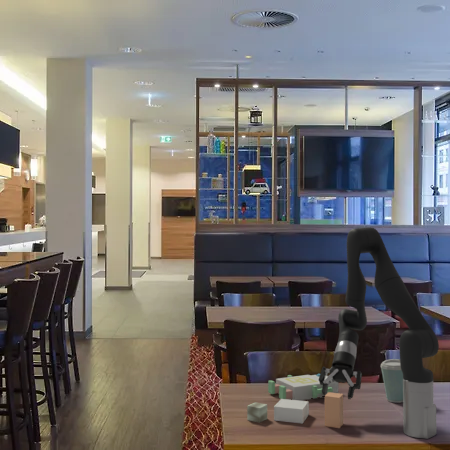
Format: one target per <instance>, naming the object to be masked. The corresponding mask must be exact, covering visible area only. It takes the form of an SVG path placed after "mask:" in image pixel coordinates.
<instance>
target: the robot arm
mask: <svg viewBox="0 0 450 450" xmlns="http://www.w3.org/2000/svg"><path fill="white" fill-rule="evenodd" d="M361 254H370V255H371V258H372V259H373V261H374V264H375V273H374V287H375V289H376V292H377V294H378V296H379V297H380V300H381V302H383V304H384V306H386V307H387V308H388V309H389V310H390V311H392V312H393V313H394V314H395V315H396V316H397V317H399V319H401V320H402V321H403V322H404V323H405V324H406V326H407V328H408V329H407V330H404V331H403V332H402V333H401V335H400V338H399V344H398V347H399V349H398V350H399V359H400V366H401V370H402V373H403V402H402V409H403V411H402V412H403V413H402V415H403V416H402V419H403V421H402V423H403V425H402V426H403V433H404V434H405V435H407V436H408V437H412V438H418V439H426V440H428V439H430V438H432V437H434V436H436V435H437V404H436V403H434V373H433V370H430V369H429V368H426V367H424V363H423V358H424V359H425V358H431V357H434V356H436V355H437V354H438V352H439V349H440V345H439V340H438V337H437V335H436V333H435V332H434V330H433V328H432V327H431V325H430V324H429V322H428V321H427V320H426V319H425V317H424V315H423V314H422V313H421V311H420V309H419V307H418V306H417V304H416V303H415V301H414V299H413V298H412V296H411V294H410V292H409V291H408V287H407V286H406V285H405V283H404V280H403V278H402V277H401V275H400V274H399V272H398V271H397V268H396V266H395V265H394V263H393V260H392V259H391V257H390V255H389V253H388V249H387V248H386V246H385V242H384V240H383V238H382V236H381V234H380V232H379V231H378V230H377V229H376V228H374V227H371V226H370V227H357V228H352V229H350V230H349V231H348V233H347V236H346V264H347V267H346V268H347V283H346V284H347V285H346V292H345V300H344V301H345V304H346V305H347V306H349V307H351V308H354V309H355V310H354V309H353V310H352V309H348V308H344V309H342V310H340V311H339V313H338V318H337V319H338V326H339V334H338V340H337V343H336V344H337V345H336V347H335V350H334V353H333V359H332V363H331V367H330V368H326V367H325V366H322V368H321V370H320V372H319V374H320V377H319V382H320V384H321V385H323V387H322V394H323V395H324V396H325V395H326V394H327V390H328V386H329V385H330V384H332V383H334V382H335V381H336V382H338V383H342V384H345V383H347V385H348V392H347V399H348V400H351V399H353V398H354V392H355V390H361V386H362V385H361V384H362V378H363V377H362V376H363V374H362V372H361V369H360V370H357V371H354V369H355V368H354V367H355V363H356V359H357V349H358V344H359V339H360V338H359V337H360V336H359V334H358V332H357V331H363V330H364V329H365V328H366V327H367V323H368V321H367V320H368V319H367V313H366V308H365V307H366V303H365V301H366V292H367V282H366V279H365V276H364V274H363V271H362V270H361V266H360V258H361ZM328 374H329V375H328ZM325 376H328V377H327V379H325ZM353 377H355V383H354V382H353V381H352V379H351V378H353Z"/></svg>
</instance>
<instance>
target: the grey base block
mask: <svg viewBox="0 0 450 450" xmlns="http://www.w3.org/2000/svg"><path fill="white" fill-rule="evenodd" d="M309 403H310V402H309V401H308V400H307V401H306V400H291V399H279V401H277V403H276V404H275V405H274V406H273V421H277V422H278V421H279V422H286V423H295V424H302V425H303V423H304V422H305V421H306V419H307V418H308V417H309V413H310V412H309V411H310V410H309V408H310V407H309V405H310V404H309Z"/></svg>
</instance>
